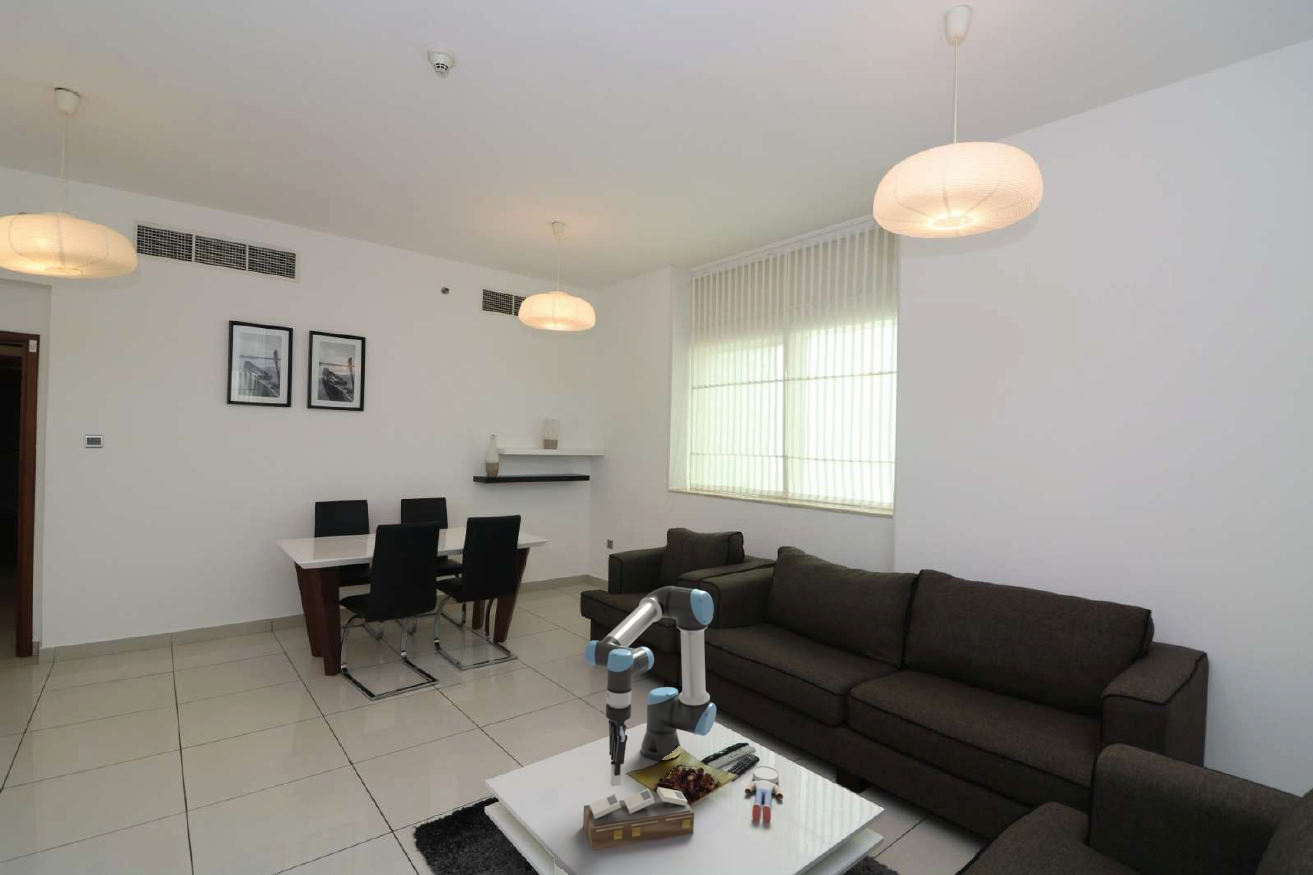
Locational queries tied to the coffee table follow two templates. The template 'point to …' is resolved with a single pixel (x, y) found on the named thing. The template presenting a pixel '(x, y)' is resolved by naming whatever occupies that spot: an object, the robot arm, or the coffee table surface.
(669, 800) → the rocker
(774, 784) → the toy
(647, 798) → the block
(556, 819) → the coffee table surface
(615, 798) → the rocker
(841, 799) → the coffee table surface
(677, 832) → the wooden storage box
